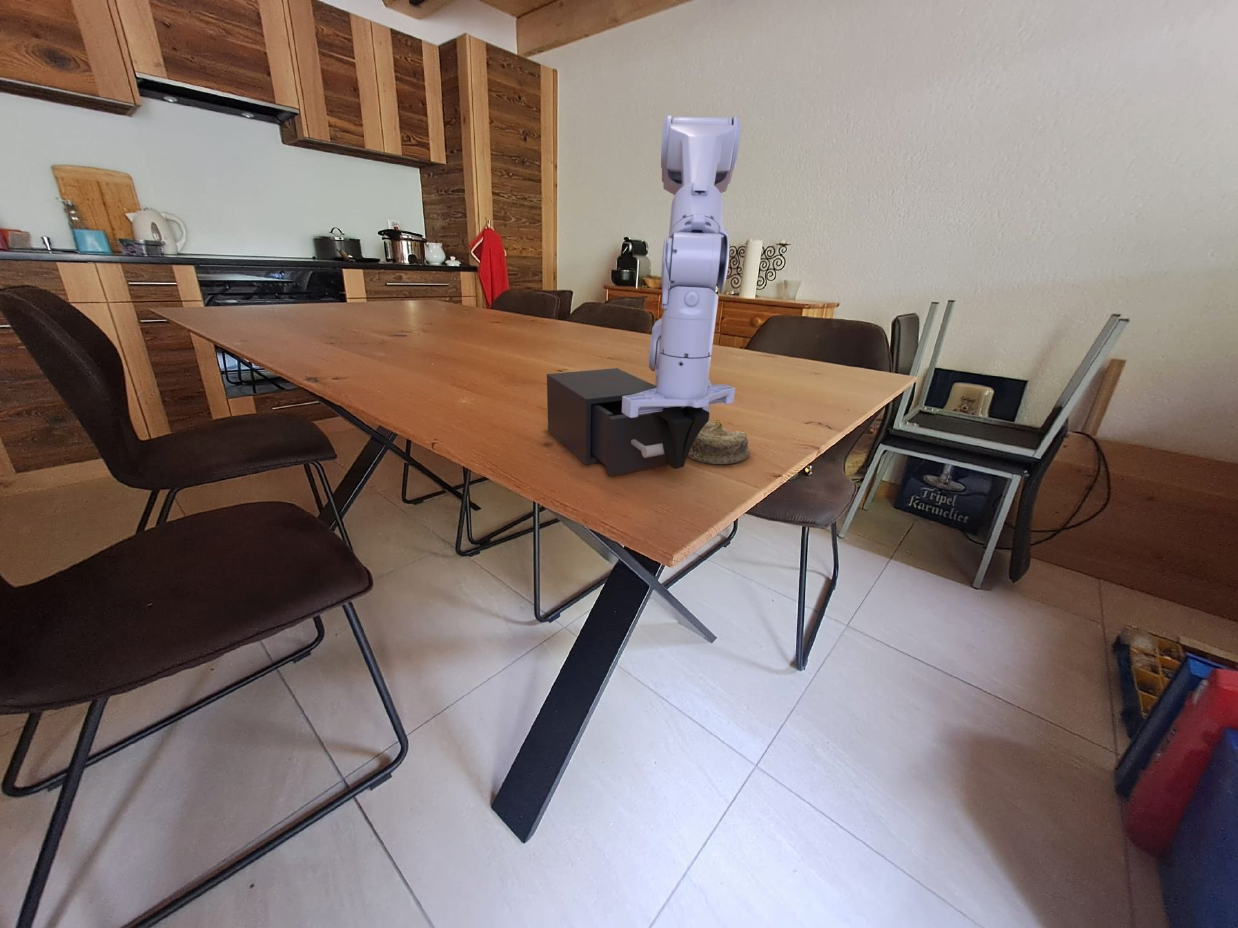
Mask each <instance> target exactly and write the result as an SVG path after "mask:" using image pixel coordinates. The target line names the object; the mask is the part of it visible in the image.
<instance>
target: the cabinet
mask: <svg viewBox="0 0 1238 928" xmlns="http://www.w3.org/2000/svg"><path fill="white" fill-rule="evenodd" d="M654 388H657V386H655V384H653V383H651V382H648V381H646V380H644V379H642V378H639V377H638V376H635V375H633V374H631V373H629V372H627V371H625V370H623V369H620V368H618V367H613V368H602V369H591V370H579V371H578V370H577V371H566V372H557V373H556V372H555V373H547V374H546V398H547V399H546V400H547V401H546V402H547V432H548V433H549V434H550V435H551V436H552V437H554V438H555V439H556V440H557V441H558V442H559V443H560V444H562V446H563V447H565V448H566V449H567V450H568V451H569V452H570V453H571V454H573V456H575V457H576V458H577V459H578V460H579V461H580V462H581V463H582V464H584V465H585V466H588V465H593V464H594V465H595V464H599V463H602V462H601V461H600V460H598V459H597V458H596V457H595V456H594V455H592V454H591V453H590V451H591V404H597V403H605V402H614V401H622V397H623V396H627V395H633V394H637V393H640V392H644V391H647V390H651V389H654Z"/></svg>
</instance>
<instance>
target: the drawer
mask: <svg viewBox="0 0 1238 928" xmlns="http://www.w3.org/2000/svg"><path fill="white" fill-rule="evenodd" d="M590 453H591V454H592V455H594V456H595V457H596V458H597V459H598V460H600V461H601V462H600V463H602V464H603V465H604V466H605V474H607V475H608V476H609V477H614V476H619V475H623V474H624V475H625V474H628V473H629V474H630V473H634V472H638V471H643V470H648V469H654V468H658V467H664V466H669V465H668V464H666V461H665V454H664V448H663V443H662V440H661V436H660V433H659V430H658V427H657V425H656V423H655V420H654V418H653V416H652V415H651V413H646V414H639V415H638V417H634V418H630V417H628V416H626V415H625V414H623V413H622V401H614V402H605V403H597V404H591V451H590Z"/></svg>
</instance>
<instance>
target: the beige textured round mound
mask: <svg viewBox="0 0 1238 928" xmlns="http://www.w3.org/2000/svg"><path fill="white" fill-rule="evenodd" d="M749 456H750V449H749V439H748V434H746V432H745V431H739V430H736V431H733V432H729V431H728V430H727V429H725V428H724V425H723V423H722V420H720V419H716V420H715V422H713V421H708V423H706V424H705V425H704V427H703V428H702V429H701V431H700V432H699V434H698V435H697V437H696V439H695V441H694V443H693V445H692V447H691V449H690V451H689V454H688V456H687V457H688V458H690V459H692V460H694V461H696V462H701V463H707V464H713V465H729V464H737V463H739V462H742V461H745V460H746V459H747V458H749Z"/></svg>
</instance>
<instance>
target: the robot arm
mask: <svg viewBox="0 0 1238 928" xmlns="http://www.w3.org/2000/svg"><path fill="white" fill-rule="evenodd" d="M741 132H742V122H741V120H740V119H739V117H738V116H737V115H733V116H732V117H720V116H719V117H718V116H717V117H716V116H715V117H714V116H710V117H709V116H673V114H668V115H667V116H666V118H664V120H663V124H662V134H661V151H660V152H661V153H660V168H661V182H662V183H663V185H662V186H663V190H665V191H667V192H668V193H670V194H672V195H673V198H672V202H671V209H670V218H669V220H670V221H669V230H668V237H667V236H665V238H664V241H663V246H662V256H661V257H662V258H661V272H660V284H661V299H662V300H661V309H662V310H663V313H662V315H661V318H659V319H657V320H656V321H655V322H654V323H653V325H652V328H651V336H650V340H649V341H650V342H649V355H648V368H649V369H650V371H651V372H654V375H655V383H654V385H655V386H657V388H654V389H651V390H647V391H644V392H640V393H637V394H633V395H627V396H623V397H622V413H623V414H625V415H626V416H628V417H630V418H634V417H638V415H639V414H646V413H651V415H652V416H653V418H654V420H655V423H656V425H657V427H658V430H659V433H660V436H661V440H662V443H663V448H664V454H665V461H666V464H668V465H667V466H669V467H671V468H672V469H674V470H676V469H681V468H682V469H683V468H684V466H685V463H686V461H687V459H688V457H689V456H688V454H689V451H690V449H691V447H692V445H693V443H694V441H695V439H696V437H697V435H698V434H699V432H700V431H701V429H702V428H703V427H704V425H705V424H706V423H709V422H710V410H711V405H717V404H724V405H732V404H734V403H735V402H734V401H735V394H736V390H737V389H736V387H734V386H731V385H728V384H725V383H724V384H723V383H722V384H712V383H711V380H710V370H711V364H712V363H711V361H712V355H713V354H712V353H713V347H714V337H715V330H716V321H717V312H718V305H719V296H718V294H717V293H716V288H717V286H718V293H719V295H721V294H722V293H723V291H724V287H725V284H726V281H727V275H728V269H729V263H730V240H729V237H730V236H729V232H728V231H727V228H725V227H724V198H723V195H722V193H725V192H727V190H728V186H729V185H730V184H731V181H732V178H733V174H734V171H735V169H736V165H737V161H738V155H739V149H740V143H741Z"/></svg>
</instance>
